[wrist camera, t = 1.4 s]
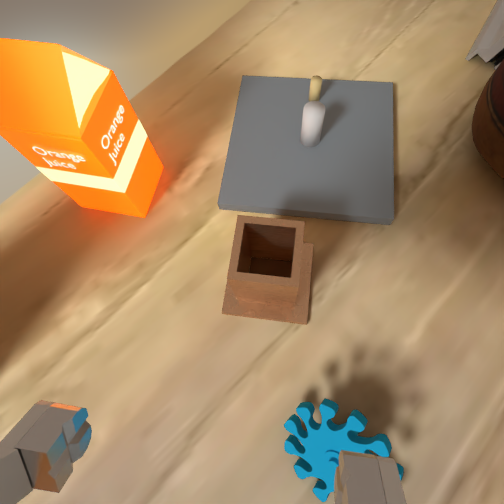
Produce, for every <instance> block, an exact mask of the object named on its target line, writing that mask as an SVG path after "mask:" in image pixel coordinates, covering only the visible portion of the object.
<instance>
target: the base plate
mask: <svg viewBox="0 0 504 504" xmlns="http://www.w3.org/2000/svg"><path fill="white" fill-rule="evenodd" d="M218 206H219V209H223V210H234V211H244V212H255V213H266V214H277V215H288V216H298V217H309V218H320V219H331V220H342V221H353V222H363V223H374V224H385V225H390V224H391V223H392V221H393V220H394V157H393V83H391V82H369V81H348V80H327V79H322V78H321V77H320V76H313V77H312V78H311V79H306V78H284V77H263V76H242V81H241V86H240V91H239V97H238V102H237V107H236V112H235V117H234V122H233V127H232V132H231V137H230V142H229V148H228V153H227V158H226V163H225V168H224V173H223V178H222V183H221V188H220V194H219V199H218Z"/></svg>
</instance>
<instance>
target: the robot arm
mask: <svg viewBox="0 0 504 504" xmlns="http://www.w3.org/2000/svg"><path fill="white" fill-rule="evenodd" d="M87 417H88V413H87V409H86V408H81V407H76V406H71V405H65V404H60V403H55V402H49V401H43V400H41V401H39V402H37V403H36V404H34V406H33V407H32V408H31V409H30V410H29V411H28V412H27V413H26V414H25V415H24V417H23V418H22V419H21V420H20V421H19V422H18V423H17V424H16V425H15V427H14V428H13V429H12V430H11V431H10V432H9V433H8V434H7V435H6V436H5V438H4V439H3V440H2V441H1V442H0V504H16V503H18V502H19V501H20V500H21V499H23V498H24V497H25V496H26V495H28V494H29V493H30V492H31V491H32V490H33V489H38V490H45V491H51V492H57V493H59V492H60V490H61V489H62V487H63V486H64V484H65V483H66V481H67V480H68V478H69V476H70V475H71V473H72V472H73V463H74V462H75V461H77V460H78V459H79V458H81V457H82V456H83V454H84V453H85V451H86V449H87V447H88V445H89V442H90V439H91V432H92V430H91V425H90V424H89V423H88V422H87V421H86V418H87ZM334 499H335V504H406V500H405V496H404V492H403V488H402V484H401V480H400V476H399V472H398V468H397V464H396V462H395V460H394V459H393V458H387V457H380V456H375V455H371V454H365V453H358V452H351V451H344V450H341V451H340V454H339V466H338V467H336V471H335V479H334Z"/></svg>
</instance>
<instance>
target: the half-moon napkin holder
mask: <svg viewBox="0 0 504 504" xmlns="http://www.w3.org/2000/svg"><path fill="white" fill-rule="evenodd" d="M476 54H478V55H479V56H480V57H481V58H482V59H483V60H484V61H485V62H486V63H487V62H488V61H491V62H492V61H493V60H494V59H495V58H497V59H496V61H495V63H494V65H495V67H494V69H495V70H496V69H497V67H498V66H499V65H500V63H501V62H502V61H503V59H504V0H497V2H496V4H495V6H494V8H493V9H492V11H491V13H490V15H489V17H488V18H487V20H486V22H485V24H484V26H483V28H482V29H481V31H480V33H479V35H478V37H477V38H476V40H475V42H474V44H473V46H472V48H471V49H470V51H469V53H468V55H467V57H466V58H465V59H466V60H468V61H469V60H470V59H471V58H472V57H473V56H475V55H476Z"/></svg>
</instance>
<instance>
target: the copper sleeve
mask: <svg viewBox="0 0 504 504" xmlns="http://www.w3.org/2000/svg"><path fill="white" fill-rule="evenodd" d="M304 226H305V221H296V220H285V219H274V218H264V217H253V216H242V215H238V217H237V223H236V229H235V235H234V241H233V247H232V253H231V259H230V265H229V270H228V276H227V285H226V291H225V297H224V302H223V308H222V314H227V315H235V316H243V317H251V318H259V319H267V320H274V321H282V322H290V323H298V324H306V325H307V318H308V305H309V293H310V280H311V268H312V255H313V243H304V242H303V237H304ZM251 257H255V258H264V259H273V260H282V261H292V264H291V274H290V278H287V277H278V276H269V275H260V274H252V273H249V270H250V263H251Z"/></svg>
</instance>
